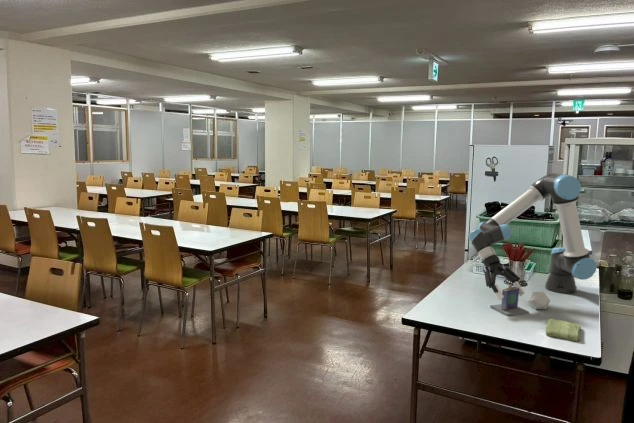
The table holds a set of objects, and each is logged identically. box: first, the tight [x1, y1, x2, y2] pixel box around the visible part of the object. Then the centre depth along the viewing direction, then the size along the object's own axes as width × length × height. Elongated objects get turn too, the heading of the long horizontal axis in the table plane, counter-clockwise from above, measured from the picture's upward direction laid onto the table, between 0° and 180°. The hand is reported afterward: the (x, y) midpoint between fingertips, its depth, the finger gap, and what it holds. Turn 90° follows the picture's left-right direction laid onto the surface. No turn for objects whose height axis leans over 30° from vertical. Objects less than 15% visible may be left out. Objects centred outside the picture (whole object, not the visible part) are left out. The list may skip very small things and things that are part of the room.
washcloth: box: [545, 318, 582, 342], centre depth 194 cm, size 13×18×3 cm
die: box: [528, 291, 551, 310], centre depth 222 cm, size 8×9×10 cm
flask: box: [500, 283, 520, 310], centre depth 218 cm, size 10×3×12 cm, turn 117°
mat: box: [489, 303, 530, 317], centre depth 219 cm, size 12×12×1 cm
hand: (512, 296), depth 217 cm, fingers open, 13 cm apart
